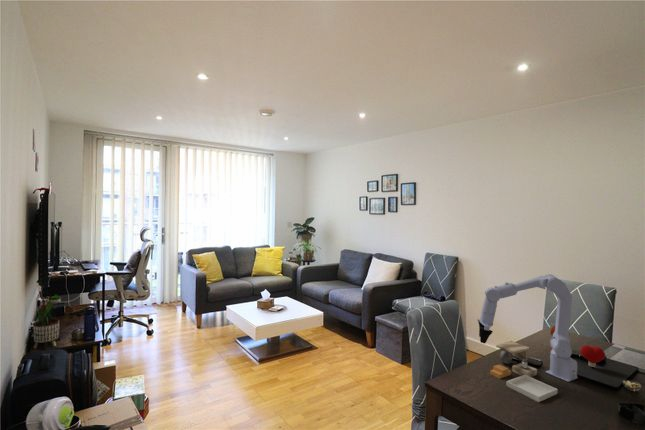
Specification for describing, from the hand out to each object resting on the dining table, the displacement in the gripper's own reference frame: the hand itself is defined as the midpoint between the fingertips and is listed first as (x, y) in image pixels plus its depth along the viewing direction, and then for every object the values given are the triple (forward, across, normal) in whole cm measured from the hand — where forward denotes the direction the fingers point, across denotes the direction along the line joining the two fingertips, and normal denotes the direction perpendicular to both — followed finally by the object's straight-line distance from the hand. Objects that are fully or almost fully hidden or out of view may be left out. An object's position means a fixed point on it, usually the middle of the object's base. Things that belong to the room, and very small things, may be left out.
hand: (482, 339), depth 163 cm
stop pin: (+8, +5, +19) cm, 21 cm away
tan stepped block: (+10, +11, +9) cm, 17 cm away
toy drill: (+4, -32, +41) cm, 52 cm away
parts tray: (+8, +20, +19) cm, 29 cm away
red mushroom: (+3, -15, +49) cm, 52 cm away
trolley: (+8, -6, +15) cm, 18 cm away
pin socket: (+8, +5, +19) cm, 21 cm away
